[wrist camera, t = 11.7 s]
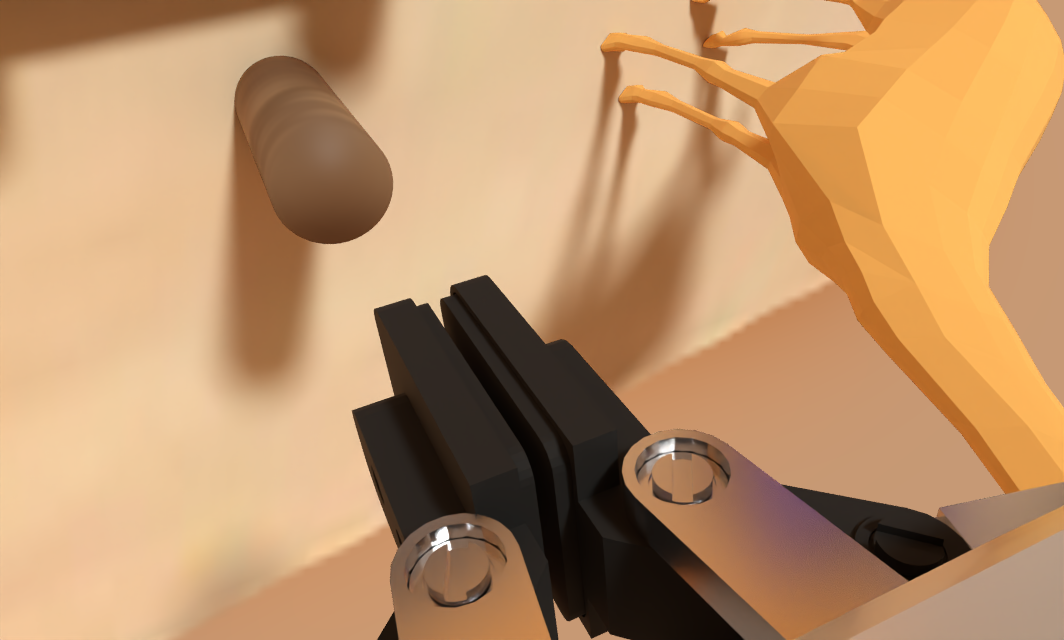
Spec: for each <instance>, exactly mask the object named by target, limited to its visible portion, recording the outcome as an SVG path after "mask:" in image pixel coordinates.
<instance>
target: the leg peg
mask: <svg viewBox="0 0 1064 640" xmlns="http://www.w3.org/2000/svg"><path fill="white" fill-rule="evenodd" d="M235 109H236V113H237V116H238V118H239V121H240V123H241V126H242V129H243V131H244V134H245V136H246V139H247V141H248V144H249V146H250V149H251V152H252V154H253V157H254V159H255V162H256V164H257V167H258V169H259V172H260V174H261V177H262V180H263V182H264V185H265V187H266V190H267V192H268V195H269V197H270V200H271V203H272V205H273V208H274V210H275V212H276V214H277V216H278V217H279V219H280V220H281V221H282V223H283V224H284V225H285V226H286V227H287V228H288V229H289V230H291V231H292V232H293V233H295V234H296V235H298V236H300V237H302V238H304V239H306V240H309V241H312V242H316V243H322V244H337V243H343V242H347V241H350V240H353V239H356V238H358V237H360V236H362V235H363V234H365V233H367V232H368V231H369V230H371V229H372V228H373V227H374V226H375V225H376V224H377V223H378V222H379V221H380V220H381V218H382V217H383V215H384V214H385V212H386V210H387V208H388V206H389V203H390V201H391V197H392V191H393V177H392V171H391V168H390V165H389V163H388V160H387V158H386V157H385V155H384V153H383V152H382V151H381V149H380V148H379V147H378V146H377V144H376V143H375V142H374V141H373V140H372V138H371V137H370V136H369V135H368V133H367V132H366V131H365V130H364V129H363V127H362V126H361V125H360V124H359V122H358V121H357V120H356V119H355V117H354V116H353V115H352V114H351V113H350V111H349V110H348V109H347V108H346V106H345V105H344V104H343V103H342V102H341V100H340V99H339V98H338V97H337V95H336V94H335V93H334V92H333V91H332V89H331V88H330V87H329V86H328V84H327V83H326V82H325V81H324V80H323V78H322V77H321V76H320V75H319V73H318V72H317V71H316V70H315V69H314V68H312V67H311V66H310V65H308V64H307V63H305V62H303V61H301V60H299V59H296V58H292V57H287V56H273V57H268V58H265V59H262V60H260V61H258V62H256V63H255V64H253V65H252V66H251V67H249V68H248V69H247V70H246V71H245V72H244V74H243V75H242V77H241V78H240V80H239V82H238V85H237V88H236V92H235Z"/></svg>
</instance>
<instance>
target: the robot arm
mask: <svg viewBox="0 0 1064 640" xmlns="http://www.w3.org/2000/svg"><path fill="white" fill-rule="evenodd" d="M450 295H451V296H448V297H445V298H442V299H441V300H440V306H441V312H442V317H443V322H444V327H445V328H444V327H443V325H442V324H441V322H440V321H439V319H438V318H437V316H436V315H435V313H434V312H433V310H432V309H431V307H430V306H429V304H428V303H426V304H422V305H419V306H416V305H415V303H414V302H413V300H412V299H411V298H409V299H405V300H402V301H399V302H396V303H392V304H389V305H386V306H383V307H379V308H376V309H374V315H375V320H376V324H377V328H378V332H379V336H380V340H381V344H382V348H383V352H384V356H385V360H386V364H387V368H388V372H389V376H390V380H391V384H392V388H393V392H394V396H393V397H390V398H387V399H384V400H381V401H378V402H375V403H372V404H370V405H367V406H364V407H361V408H358V409H355V410H352V413H353V418H354V421H355V425H356V428H357V432H358V435H359V439H360V442H361V445H362V449H363V452H364V455H365V459H366V462H367V465H368V468H369V471H370V474H371V477H372V480H373V483H374V486H375V489H376V492H377V494H378V497H379V500H380V503H381V505H382V508H383V511H384V513H385V516H386V518H387V521H388V524H389V526H390V529H391V531H392V534H393V537H394V539H395V542H396V544H397V547H398V550H397V552H396V554H395V557H394V559H393V561H392V564H391V573H390V585H391V592H392V598H393V605H394V612H393V614H392V616H391V617H390V619H389V621H388V622H387V624H386V626H385V628H384V629H383V631H382V632H381V634H380V636H379V637H378V640H558V633H557V625H556V618H555V610H554V603H553V599H554V601H555V603H556V604H557V606H558V608H559V610H560V612H561V613H562V615H563V616H564V618H565V619H566V620H567V621H571V620H573V619H575V618H577V617H579V618H580V620H581V622H582V623H583V625H584V627H585V628H586V630H587V632H588V634H589V635H590V637H591V638H594V637H596V636H598V635H600V634H603V633H605V632H607V631H608V632H609V633H610V634H611V635H615V636H619V637H622V638H626V639H630V640H1064V482H1061V483H1056V484H1051V485H1047V486H1042V487H1037V488H1032V489H1027V490H1023V491H1018V492H1013V493H1008V494H1003V495H999V496H994V497H989V498H984V499H979V500H975V501H970V502H966V503H960V504H956V505H950V506H946V507H942V508H939V510H938V514H937V517H936V518H934V517H932V516H930V515H928V514H925V513H921V512H918V511H915V510H911V509H908V508H904V507H898V506H893V505H887V504H882V503H876V502H871V501H866V500H861V499H856V498H850V497H845V496H840V495H834V494H829V493H824V492H818V491H813V490H808V489H803V488H797V487H792V486H787V485H781V484H780V483H778V482H777V481H776V480H774V479H773V478H772V477H770V476H769V475H768V474H766V473H765V472H764V471H762V470H761V469H760V468H758V467H757V466H756V465H755V464H753V463H752V462H751V461H749V460H748V459H747V458H745V457H744V456H743V455H741V454H740V453H739V452H737V451H736V450H735V449H733V448H732V447H731V446H729V445H728V444H726V443H725V442H723V441H721V440H720V439H718V438H716V437H714V436H712V435H710V434H706V433H703V432H699V431H696V430H683V429H674V430H666V431H659V432H657V433H654V434H650V433H649V432H648V431H647V430H646V429H645V428H644V427H643V425H642V424H641V423H640V422H639V421H638V420H637V418H636V417H635V416H634V415H633V414H632V413H631V412H630V411H629V409H628V408H627V407H626V406H625V405H624V404H623V403H622V402H621V400H620V399H619V398H618V397H617V396H616V395H615V394H614V393H613V391H612V390H611V389H610V388H609V387H608V386H607V385H606V384H605V382H604V381H603V380H602V379H601V378H600V377H599V376H598V374H597V373H596V372H595V371H594V370H593V369H592V368H591V367H590V365H589V364H588V363H587V362H586V361H585V360H584V359H583V358H582V356H581V355H580V354H579V353H578V352H577V351H576V350H575V349H574V347H573V346H572V345H571V344H570V343H568V342H567V341H566V340H562V339H560V340H557V341H554V342H551V343H548V344H545V343H544V342H543V341H542V339H541V338H540V337H539V336H538V335H537V333H536V332H535V331H534V330H533V329H532V327H531V326H530V325H529V324H528V323H527V321H526V320H525V319H524V318H523V317H522V315H521V314H520V313H519V312H518V311H517V310H516V308H515V307H514V306H513V305H512V304H511V302H510V301H509V300H508V299H507V298H506V296H505V295H504V294H503V293H502V292H501V290H500V289H499V288H498V287H497V286H496V284H495V283H494V282H493V281H492V280H491V278H490V277H488V276H487V275H484V276H481V277H477V278H474V279H471V280H468V281H464V282H461V283H458V284H454V285H451V288H450Z"/></svg>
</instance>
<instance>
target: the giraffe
mask: <svg viewBox="0 0 1064 640" xmlns="http://www.w3.org/2000/svg"><path fill="white" fill-rule="evenodd" d="M691 1H694V2H699V3H706V2H708V1H710V0H691ZM826 1H833V2H839V3H844V4H848V5H850V6H851V7H852V8H853V10H854V11H855V13H856V15H857V16H858V18H859V20H860V21H861V23H862V25H863V26H864V28H865V30H866V31H856V32H841V33H826V34H811V35H806V34H790V33H774V32H759V31H755V30H751V29H747V28H744V29H742V30H739V31H737V32H735V33H732V34H730V35H727V36H726V35H725V33H724V32H723V31H721V32H719V33H717V34H714V35H711V36H710V37H709V38H708V39H707V40H706V41H705V42H704V44H703V47H705V48H717V47H720V46H741V45H746V44H751V43H776V44H806V45H813V46H820V47H827V48H834V49H841V50H847V51H845V52H841V53H833V54H826V55H821V56H819V57H817V58H816V59H814V60H812V61H811V62H809V63H807V64H806V65H804V66H802V67H801V68H799V69H797V70H796V71H794V72H793V73H791V74H789V75H788V76H786V77H784V78H783V79H781V80H779V81H778V82H776V83H775V82H772V81H768V80H765V79H762V78H759V77H756V76H752V75H749V74H746V73H743V72H740V71H736V70H733V69H732V68H731V67H730V66H728V65H727V64H726V63H725V62H724V61H719V60H714V59H708V58H704V57H700V56H697V55H694V54H691V53H688V52H685V51H682V50H678V49H675V48H672V47H669V46H666V45H663V44H661V43H659V42H657V41H655V40H653V39H652V38H650V37H647V36H637V35H627V33H610V34H609V35H608V37H607V38H606V40H605V41H604V42H603V44H602V45H601V49H602V51H603V52H609V51H625V50H628V51H633V52H639V53H644V54H650V55H655V56H658V57H661V58H664V59H667V60H670V61H673V62H675V63H678V64H681V65H684V66H687V67H689V68H692V69H695V70H696V71H697V72H698V73H699V74H700V75H701V76H702V77H703V78H704V79H705V80H706V81H707V82H708V83H711V84H713V85H715V86H718V87H720V88H722V89H724V90H725V91H727V92H729V93H730V94H732V95H734V96H735V97H737V98H739V99H740V100H742V101H744V102H745V103H747V104H749V105H750V106H752V107H754V108H755V111H756V113H757V115H758V117H759V120H760V122H761V124H762V126H763V129H764V131H765V133H766V135H767V138H768V139H766V138H764V137H761V136H759V135H756V134H754V133H751V132H749V131H748V130H747V129H746V128H745V127H744V126H742V125H741V124H740V123H739V122H736V121H730V120H725V119H719V118H717V117H715V116H713V115H710V114H708V113H706V112H704V111H702V110H699V109H697V108H695V107H693V106H691V105H688V104H686V103H684V102H682V101H680V100H678V99H677V98H675V97H674V96H672V95H671V94H669V93H668V92H665V91H656V90H646V89H645V88H644V87H643V85H635V86H627V87H626V89H625V90H624V91H623V93H622V94H621V95H620V96H619V101H620V103H642V104H646V105H649V106H652V107H656V108H660V109H664V110H668V111H671V112H674V113H676V114H678V115H680V116H683V117H685V118H687V119H689V120H691V121H693V122H695V123H697V124H700V125H702V126H704V127H706V128H708V129H710V130H712V131H713V133H714V134H715V135H716V136H717V137H718V138H719V139H721V140H722V141H724V142H726V143H729V144H732V145H734V146H736V147H737V148H739V149H740V150H741V151H743V152H744V153H746V154H747V155H748V156H750V157H751V158H753V159H754V160H756V161H757V162H758V163H760V164H761V165H763V166H764V167H766V168H767V169H768V170H769V172H770V174H771V176H772V179H773V181H774V183H775V185H776V187H777V189H778V191H779V193H780V195H781V197H782V199H783V202H784V204H785V206H786V209H787V211H788V214H789V216H790V220H791V224H792V229H793V233H794V237H795V241H796V243H797V245H798V246H799V248H800V250H801V251H802V253H803V254H804V256H805V257H806V259H807V261H808V262H809V263H810V264H811V265H812V266H814V267H815V268H816V269H818V270H819V271H820V272H822V273H823V274H824V275H826V276H827V277H828V278H830V279H831V280H832V281H834V282H835V283H836V284H837V285H838V286H839V287H840V288H841V289H842V290H843V291H844V292H845V293H846V294H847V295H848V298H849V300H850V303H851V305H852V308H853V310H854V313H855V315H856V317H857V320H858V321H859V322H860V324H861V325H862V326H863V327H864V328H865V330H866V331H867V332H868V333H869V334H870V335H871V336H872V338H873V339H874V340H875V341H876V342H877V343H878V344H879V345H880V347H881V348H882V349H883V350H884V351H885V352H886V354H887V355H888V356H889V357H890V358H891V359H892V360H893V361H894V362H895V363H896V364H897V365H898V367H899V368H900V369H901V370H902V371H903V372H904V373H905V374H906V375H907V376H908V377H909V378H910V379H911V380H912V382H913V383H914V384H915V385H916V386H917V387H918V388H919V389H920V390H921V391H922V392H923V393H924V394H925V395H926V396H927V398H928V399H929V400H930V401H931V402H932V403H933V404H934V405H935V406H936V407H937V408H938V409H939V410H940V411H941V413H942V414H943V415H944V416H945V417H946V418H947V419H948V420H949V421H950V422H951V423H952V424H953V425H954V427H955V428H957V430H958V431H959V432H960V433H961V434H962V436H963V437H964V438H965V440H966V441H967V442H968V444H969V445H970V447H971V448H972V449H973V451H974V452H975V453H976V455H977V456H978V457H979V459H980V460H981V462H982V463H983V464H984V466H985V467H986V468H987V470H988V471H989V472H990V474H991V475H992V476H993V478H994V479H995V480H996V482H997V483H998V485H999V486H1000V487H1001V489H1002V490H1003V491H1004V493H1005V494H1008V493H1013V492H1018V491H1023V490H1027V489H1032V488H1037V487H1042V486H1047V485H1051V484H1056V483H1061V482H1064V408H1063V406H1062V405H1061V404H1060V402H1059V401H1058V399H1057V398H1056V397H1055V395H1054V394H1053V393H1052V391H1051V390H1050V388H1049V387H1048V386H1047V385H1046V383H1045V382H1044V380H1043V378H1042V376H1041V374H1040V373H1039V371H1038V369H1037V368H1036V366H1035V364H1034V362H1033V360H1032V359H1031V357H1030V355H1029V353H1028V352H1027V350H1026V348H1025V346H1024V345H1023V343H1022V341H1021V339H1020V337H1019V336H1018V334H1017V333H1016V331H1015V329H1014V327H1013V326H1012V324H1011V322H1010V321H1009V319H1008V317H1007V316H1006V314H1005V312H1004V311H1003V309H1002V307H1001V306H1000V304H999V302H998V301H997V299H996V297H995V296H994V294H993V293H992V291H991V289H990V288H989V245H990V243H991V240H992V238H993V236H994V234H995V232H996V230H997V228H998V226H999V223H1000V221H1001V219H1002V217H1003V215H1004V213H1005V211H1006V208H1007V206H1008V203H1009V201H1010V198H1011V195H1012V192H1013V189H1014V187H1015V184H1016V181H1017V178H1018V177H1019V175H1020V173H1021V172H1022V170H1023V168H1024V167H1025V165H1026V163H1027V162H1028V160H1029V158H1030V156H1031V155H1032V153H1033V151H1034V150H1035V148H1036V146H1037V145H1038V143H1039V141H1040V139H1041V137H1042V135H1043V133H1044V131H1045V129H1046V127H1047V125H1048V123H1049V121H1050V119H1051V117H1052V115H1053V112H1054V110H1055V107H1056V105H1057V102H1058V100H1059V97H1060V95H1061V93H1062V88H1063V81H1064V52H1063V48H1062V43H1061V40H1060V38H1059V36H1058V34H1057V32H1056V30H1055V29H1054V27H1053V25H1052V23H1051V21H1050V20H1049V18H1048V16H1047V15H1046V13H1045V12H1044V10H1043V9H1042V7H1041V6H1040V4H1039V3H1038V1H1037V0H826Z"/></svg>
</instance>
